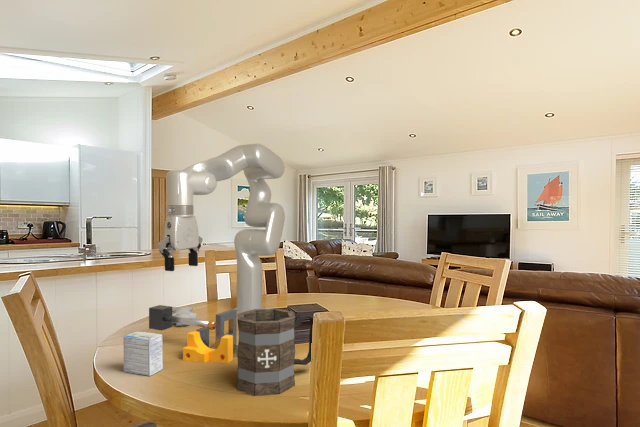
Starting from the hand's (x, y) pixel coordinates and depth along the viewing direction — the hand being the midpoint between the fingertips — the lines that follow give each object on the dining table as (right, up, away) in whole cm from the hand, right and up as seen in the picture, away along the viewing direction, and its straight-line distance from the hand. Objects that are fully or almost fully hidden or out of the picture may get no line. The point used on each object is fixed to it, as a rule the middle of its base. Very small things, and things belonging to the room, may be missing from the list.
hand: (181, 268), depth 123 cm
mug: (+32, -21, -31) cm, 50 cm away
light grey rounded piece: (-6, -21, +18) cm, 29 cm away
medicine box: (0, -21, -26) cm, 34 cm away
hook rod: (+3, -17, -7) cm, 19 cm away
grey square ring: (+14, -21, -12) cm, 28 cm away
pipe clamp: (+13, -21, -19) cm, 31 cm away
